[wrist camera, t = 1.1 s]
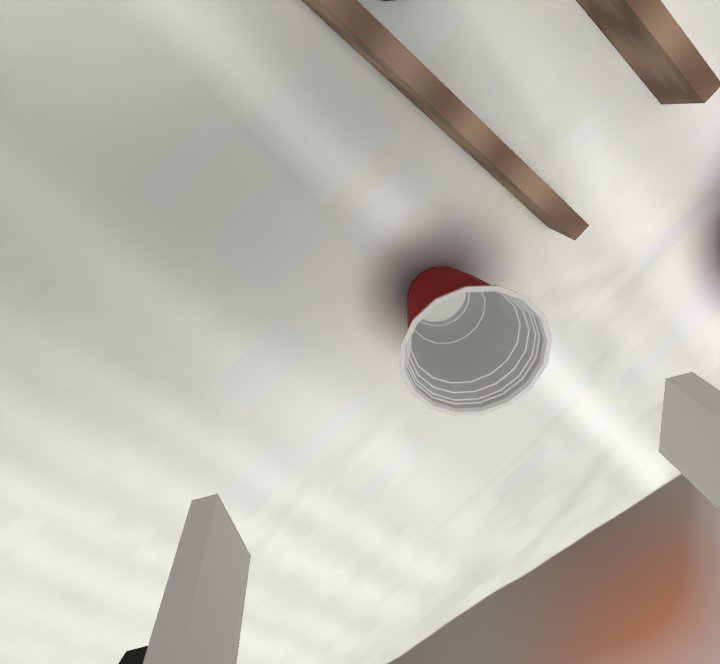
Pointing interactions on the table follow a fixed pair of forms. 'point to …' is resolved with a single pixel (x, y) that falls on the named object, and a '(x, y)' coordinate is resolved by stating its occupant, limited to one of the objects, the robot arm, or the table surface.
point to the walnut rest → (392, 59)
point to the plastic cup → (471, 343)
